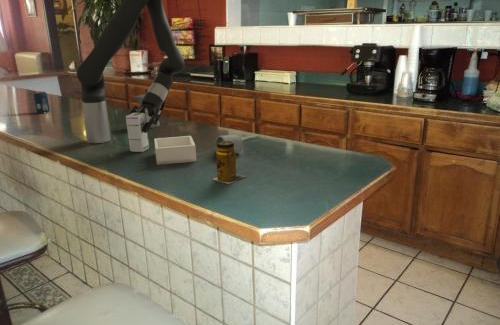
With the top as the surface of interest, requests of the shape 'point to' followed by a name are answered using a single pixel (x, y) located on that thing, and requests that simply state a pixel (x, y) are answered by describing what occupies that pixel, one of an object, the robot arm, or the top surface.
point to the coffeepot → (139, 100)
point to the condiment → (226, 163)
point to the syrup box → (137, 132)
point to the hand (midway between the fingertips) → (136, 130)
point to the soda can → (41, 102)
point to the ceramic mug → (231, 138)
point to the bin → (175, 150)
